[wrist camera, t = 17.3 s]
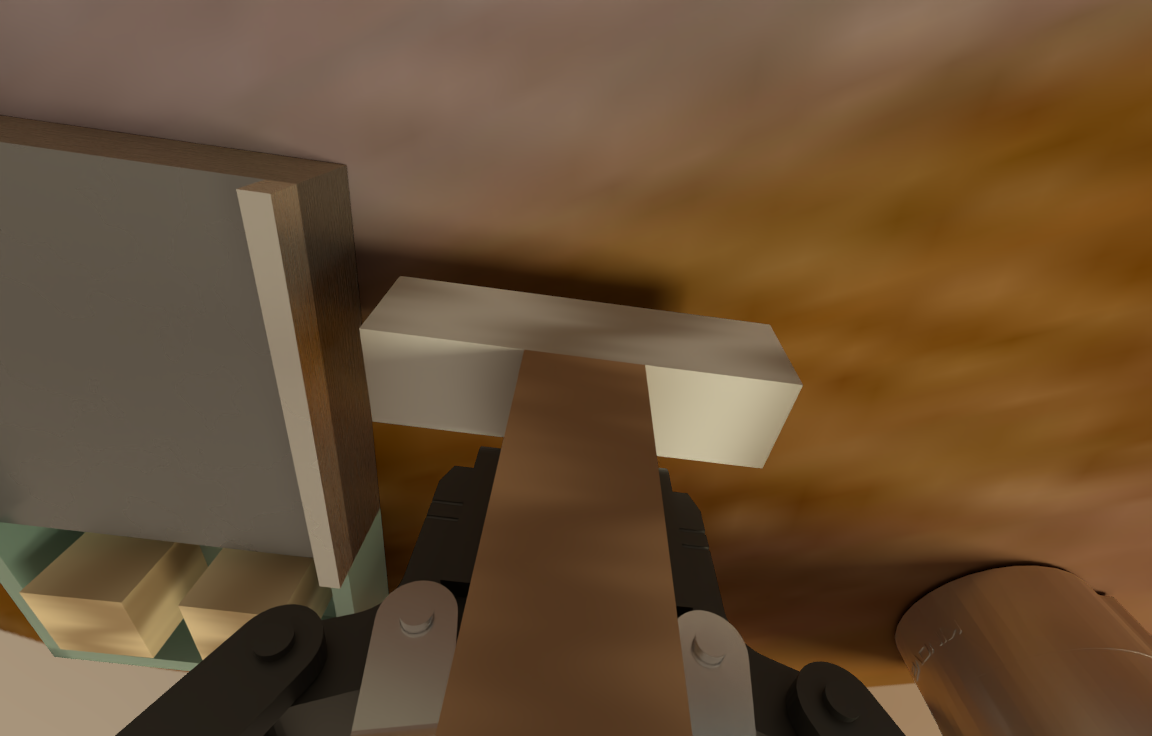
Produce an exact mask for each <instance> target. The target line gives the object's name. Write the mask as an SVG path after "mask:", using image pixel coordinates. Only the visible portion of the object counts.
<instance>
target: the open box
mask: <svg viewBox="0 0 1152 736" xmlns="http://www.w3.org/2000/svg"><path fill="white" fill-rule="evenodd" d="M361 326H362V318H361V308H360V298H359V287H358V277H357V267H356V257H355V247H354V237H353V227H352V217H351V206H350V196H349V186H348V176H347V166H346V165H343V164H336V163H329V162H322V161H315V160H308V159H301V158H294V157H287V156H280V155H273V154H266V153H259V152H252V151H245V150H238V149H232V148H225V147H218V146H211V145H204V144H197V143H190V142H183V141H176V140H169V139H162V138H155V137H148V136H141V135H134V134H127V133H120V132H113V131H106V130H99V129H92V128H85V127H79V126H72V125H65V124H58V123H51V122H44V121H37V120H30V119H23V118H16V117H9V116H2V115H0V522H3V523H11V524H20V525H29V526H38V527H46V528H55V529H64V530H73V531H81V532H90V533H99V534H107V535H116V536H125V537H134V538H142V539H151V540H160V541H168V542H177V543H186V544H195V545H203V546H212V547H221V548H229V549H238V550H247V551H256V552H264V553H273V554H282V555H290V556H299V557H308V558H314V562H315V567H316V572H317V576H318V581H319V586H321V587H330V588H339V589H340V588H341V586H342V584H343V582H344V580H345V578H346V576H347V574H348V572H349V570H350V568H351V566H352V564H353V562H354V560H355V558H356V556H357V554H358V552H359V550H360V548H361V546H362V544H363V542H364V540H365V538H366V536H367V534H368V532H369V530H370V528H371V526H372V523H373V521H374V519H375V517H376V515H377V513H378V511H379V509H380V500H379V490H378V480H377V470H376V460H375V450H374V440H373V429H372V419H371V409H370V400H369V393H368V386H367V379H366V372H365V365H364V358H363V351H362V344H361V337H360V330H359V328H360V327H361Z"/></svg>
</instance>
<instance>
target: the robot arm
mask: <svg viewBox="0 0 1152 736" xmlns="http://www.w3.org/2000/svg"><path fill="white" fill-rule="evenodd" d="M500 452H501V449H499V448H491V447H483V446H481V447H480V449H479V452H478V455H477V459H476V462H475V465H474V468H469V467H460V466H454V467H453V468H452V469H451V470H450V471H449V472H448V473H447V474H446V475H445V476H444V477H443V478H442V479H441V480H440V481H439V484H438V486H437V489H436V492H435V494H434V497H433V501H432V503H431V505H430V508H429V510H428V513H427V517H426V519H425V521H424V524H423V526H422V529H421V532H420V534H419V537H418V540H417V542H416V545H415V548H414V550H413V553H412V556H411V558H410V561H409V564H408V567H407V569H406V572H405V575H404V577H403V579H402V581H401V583H400V584H399V586H398V587H397V589H395V590H394V591H393V592H391V593H390V594H389V595H388V596H387V597H386V598H385V599H384V601H383V602H381V603H380V604H378V605H376V606H374V607H372V608H370V609H368V610H365V611H362V612H358V613H354V614H349V615H344V616H339V617H334V618H330V619H325V620H321V619H320V617H319V616H318V614H317V613H316V612H315V611H314V610H312V609H310V608H308V607H306V606H303V605H297V604H287V605H281V606H276V607H273V608H270V609H268V610H266V611H264V612H261V613H260V614H258V615H256V616H255V617H253V618H252V619H250V620H249V621H248V622H247V623H245V624H244V625H243V626H242V627H241V628H240V629H238V630H237V631H236V632H235V633H234V634H233V635H231V636H230V637H229V638H228V639H227V640H226V641H224V642H223V643H222V644H221V645H220V646H219V647H217V648H216V649H215V650H214V651H213V652H212V653H211V654H209V655H208V656H207V657H206V658H205V659H204V660H202V661H201V662H200V663H199V664H198V665H197V666H195V667H194V668H193V669H192V670H191V671H190V672H189V673H187V674H186V675H185V676H184V677H183V678H182V679H180V680H179V681H178V682H177V683H176V684H175V685H173V686H172V687H171V688H170V689H169V690H168V691H167V692H166V693H164V694H163V695H162V696H161V697H160V698H158V699H157V700H156V701H155V702H154V703H153V704H151V705H150V706H149V707H148V708H147V709H146V710H145V711H143V712H142V713H141V714H140V715H139V716H137V717H136V718H135V719H134V720H133V721H132V722H131V723H129V724H128V725H127V726H126V727H125V728H124V729H122V730H121V731H120V732H119V733H118V734H117V735H115V736H435V735H436V730H437V726H438V722H439V717H440V713H441V709H442V704H443V700H444V696H445V691H446V687H447V683H448V678H449V674H450V670H451V665H452V661H453V657H454V652H455V648H456V644H457V639H458V635H459V631H460V626H461V622H462V617H463V613H464V609H465V604H466V600H467V596H468V591H469V587H470V583H471V578H472V574H473V570H474V565H475V561H476V557H477V552H478V548H479V544H480V539H481V535H482V531H483V526H484V522H485V518H486V513H487V509H488V505H489V500H490V496H491V492H492V487H493V483H494V478H495V474H496V470H497V465H498V461H499V457H500ZM658 469H659V477H660V485H661V493H662V501H663V508H664V516H665V524H666V532H667V540H668V548H669V555H670V563H671V571H672V579H673V587H674V595H675V602H676V610H677V618H678V626H679V634H680V641H681V649H682V657H683V665H684V673H685V681H686V688H687V696H688V704H689V712H690V720H691V727H692V735H693V736H905V734H904V733H903V732H902V731H901V729H900V728H899V727H898V726H897V725H896V724H895V722H894V721H893V720H892V718H891V717H890V716H889V715H888V713H887V712H886V711H885V710H884V709H883V707H882V706H881V705H880V704H879V703H878V701H877V700H876V699H875V697H874V696H873V695H872V694H871V693H870V691H869V690H868V689H867V688H866V687H865V686H864V684H863V683H862V682H861V681H860V680H858V679H857V678H856V677H855V676H854V675H852V674H851V673H850V672H848V671H847V670H845V669H843V668H841V667H839V666H837V665H835V664H831V663H828V662H813V663H809V664H808V665H806V666H804V667H803V668H802V670H801V671H800V672H799V671H797V670H795V669H792V668H790V667H788V666H785V665H783V664H781V663H779V662H776V661H774V660H772V659H769V658H767V657H765V656H763V655H761V654H759V653H757V652H756V651H754V650H753V649H751V648H750V647H749V646H747V645H746V644H745V643H744V641H743V639H742V637H741V636H740V634H739V633H738V631H737V630H736V629H735V628H734V627H733V626H732V625H731V624H730V623H729V622H728V620H727V618H726V615H725V612H724V608H723V604H722V599H721V595H720V591H719V587H718V583H717V579H716V574H715V570H714V566H713V562H712V558H711V554H710V551H709V545H708V541H707V537H706V535H705V529H704V524H703V520H702V516H701V512H700V510H699V509H698V507H697V506H696V505H695V503H694V502H693V500H692V499H691V498H690V496H689V495H688V494H687V493H679V492H672V487H671V482H670V476H669V472H668V470H667V469H664V468H658ZM895 640H896V646H897V648H898V650H899V652H900V654H901V656H902V658H903V660H904V662H905V664H906V666H907V668H908V669H909V671H910V673H911V675H912V677H913V679H914V681H915V683H916V685H917V687H918V689H919V690H920V693H921V694H922V696H923V698H924V700H925V702H926V704H927V706H928V708H929V710H930V711H931V714H932V716H933V718H934V719H935V721H936V723H937V725H938V727H939V730H940V732H941V734H942V736H1152V636H1151V635H1150V634H1149V633H1148V632H1147V631H1146V630H1145V629H1144V628H1143V627H1142V626H1141V625H1140V623H1139V622H1138V621H1137V620H1136V619H1135V618H1134V617H1133V616H1132V615H1131V614H1130V613H1129V612H1128V611H1127V610H1126V609H1125V608H1124V607H1123V606H1122V605H1121V604H1120V603H1119V602H1118V601H1117V600H1116V599H1115V598H1114V597H1110V596H1102V595H1098V594H1097V593H1096V592H1095V591H1094V590H1093V589H1092V588H1091V587H1090V586H1089V585H1088V584H1087V583H1086V582H1085V581H1084V580H1082V579H1081V578H1079V577H1078V576H1076V575H1074V574H1073V573H1070V572H1067V571H1063V570H1060V569H1057V568H1051V567H1043V566H1011V567H1003V568H996V569H990V570H986V571H982V572H978V573H974V574H970V575H967V576H965V577H962V578H960V579H957V580H954V581H952V582H949V583H947V584H945V585H943V586H941V587H939V588H937V589H935V590H934V591H932V592H930V593H928V594H927V595H926V596H924V597H923V598H921V599H920V600H919V601H917V602H916V603H915V604H914V605H913V606H912V607H911V608H910V609H909V610H908V611H907V612H906V613H905V614H904V615H903V617H902V619H901V620H900V622H899V624H898V626H897V630H896V634H895Z"/></svg>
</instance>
